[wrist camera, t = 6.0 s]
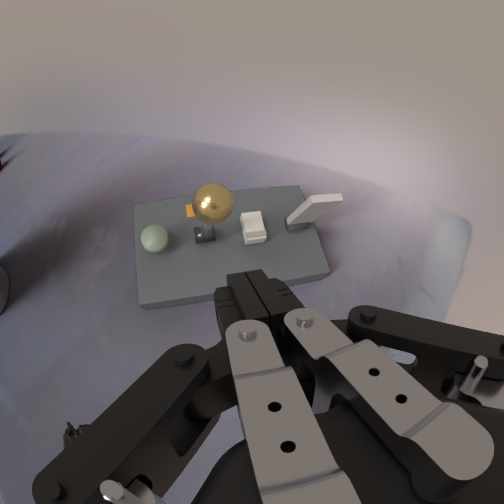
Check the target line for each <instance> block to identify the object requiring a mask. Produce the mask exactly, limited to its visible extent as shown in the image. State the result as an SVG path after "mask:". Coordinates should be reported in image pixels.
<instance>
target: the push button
mask: <svg viewBox="0 0 504 504" xmlns="http://www.w3.org/2000/svg"><path fill="white" fill-rule="evenodd" d="M141 242H142V244H143V246H144V248H145V250H146V251H147V252H149V253H151V254H159V253H161V252H163V251H164V250H165V249H166V248H167V246H168V244H169V238H168V235H167V231H166V229H165V228H164V227H162V226H161V225H150V226H148V227H147V228H145V229H144V230H143V232H142V234H141Z"/></svg>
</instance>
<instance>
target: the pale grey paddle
mask: <svg viewBox="0 0 504 504" xmlns="http://www.w3.org/2000/svg"><path fill="white" fill-rule="evenodd" d="M342 201H343V198H342V194H341V193H339V194H324V195H311V196H310V197H309V198H308V199H307V200H306V201H305V202H303V203H302V204H301V205H300V206H299V207H298V208H297V209H296V210H295V211H294V212H293V213H292V214H291V215H288V216H285V227H286V230H287V231H293V230H301V229H308V228H309V227H310V222H313V221H315V220H316V219H318V218H319V217H321V216H322V215H323V214H325V213H326V212H328V211H329V210H330V209H332V208H333V207H335V206H336V205H338V204H339V203H340V202H342Z"/></svg>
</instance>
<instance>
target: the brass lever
mask: <svg viewBox="0 0 504 504" xmlns="http://www.w3.org/2000/svg"><path fill="white" fill-rule="evenodd" d="M233 208H234V199H233V196H232V194H231V192H230V191H229V190H228V189H227V188H226V187H225V186H223V185H221V184H218V183H208V184H205V185H203V186H201V187H200V188H199V189H198V190H197V191H196V192H195V194H194V196H193V199H192V210H193V213H194V215H195V216H196V217H197V219H198V220H200V221H201V227H194V235H195V242H196V244H199V243H206V242H213V241H216V235H215V228H214V225H217V224H221V223H223V222H224V221H226V220H227V219H228V218H229V217H230V215H231V214H232V211H233Z"/></svg>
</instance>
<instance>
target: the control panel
mask: <svg viewBox="0 0 504 504" xmlns="http://www.w3.org/2000/svg"><path fill="white" fill-rule="evenodd" d="M230 192H231V194H232V196H233V199H234V208H233V211H232V214H231V215H230V217H229V218H228V219H227V220H226V221H224V222H223V223H221V224H217V225H214V228H215V235H216V241H213V242H206V243H199V244H196V242H195V235H194V227H201V221H200V220H198V219H197V217H196V216H195V215H194V213H193V210H192V199H193V196H187V197H180V198H173V199H166V200H160V201H153V202H147V203H141V204H135V205H134V238H135V261H136V276H137V288H138V299H139V305H140V306H141V307H142V308H143V309H144V310H152V309H159V308H166V307H172V306H179V305H186V304H192V303H198V302H205V301H211V300H214V296H213V294H214V292H215V290H216V288H218V287H224V286H227V280H226V275H227V274H233V273H239V272H245V271H251V270H257V269H262V270H263V272H264V273H265V274H266V276H267V277H268V278H269V279H270V278H277V279H279V280H281V281H283V282H284V283H285V284H286V285H287V286H293V285H298V284H303V283H308V282H312V281H317V280H322V279H323V278H324V277H325V276H326V275H327V274H328V273H330V269H329V266H328V263H327V260H326V257H325V254H324V251H323V248H322V245H321V243H320V240H319V237H318V234H317V231H316V229H315V226H314V223H313V222H310V227H309V228H308V229H301V230H293V231H287V230H286V227H285V216H288V215H291V214H292V213H293V212H294V211H295V210H296V209H297V208H298V207H299V206H300V205H301V204H302V203H303V202H305V200H304V197H303V194H302V192H301V189H300V187H299V185H297V186H283V187H270V188H259V189H248V190H238V191H230ZM255 211H261V216H262V220H263V224H264V228H265V230H266V234H267V235H266V237H267V238H266V240H265V241H264V242H262V243H255V244H248V245H245V241H244V236H243V231H242V226H241V221H240V216H241V213H247V212H255ZM150 225H161V226H162V227H164V228H165V229H166V231H167V235H168V238H169V244H168V246H167V248H166V249H165V250H164V251H163V252H161V253H159V254H151V253H149V252H147V251H146V250H145V248H144V246H143V244H142V242H141V234H142V232H143V230H144V229H145V228H147V227H148V226H150Z"/></svg>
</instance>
